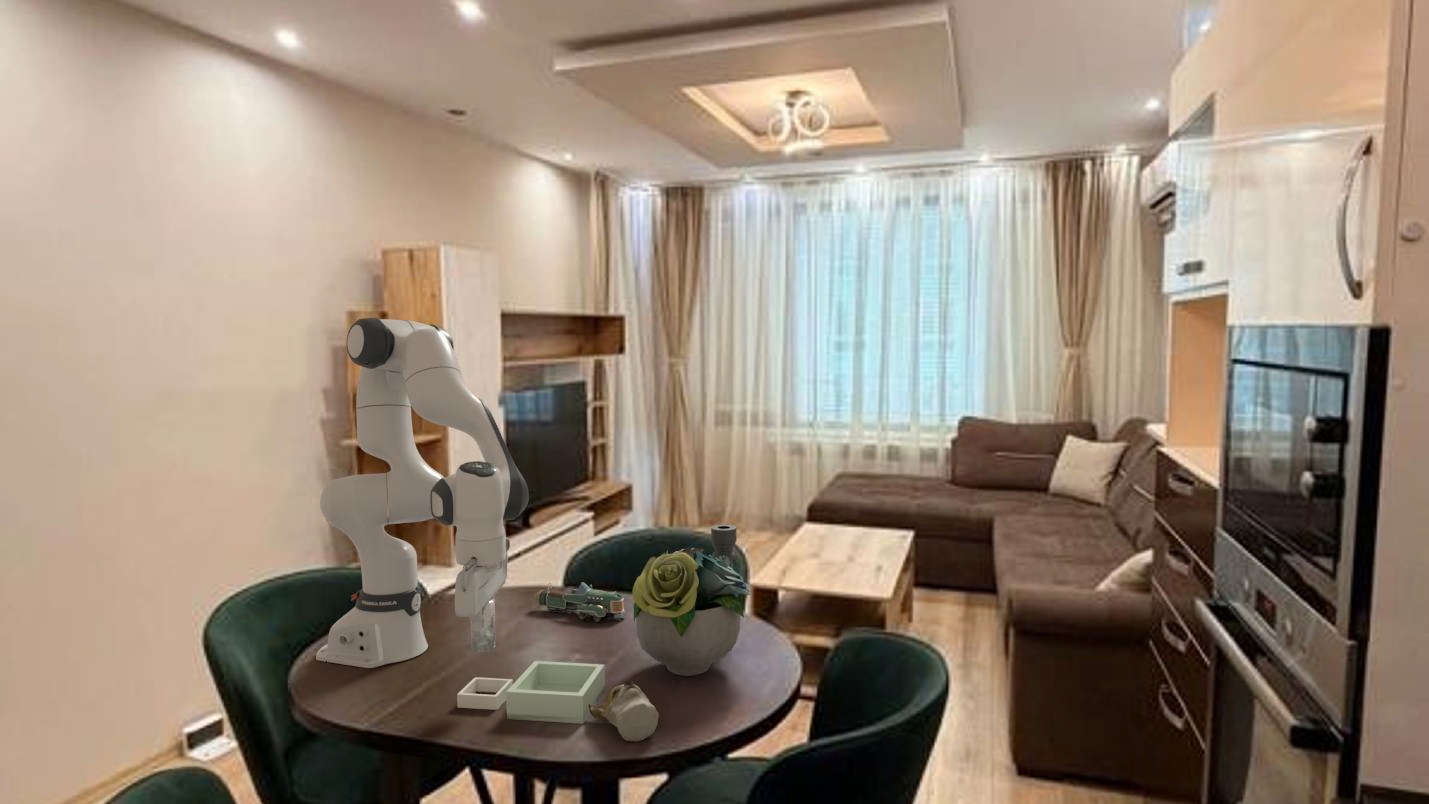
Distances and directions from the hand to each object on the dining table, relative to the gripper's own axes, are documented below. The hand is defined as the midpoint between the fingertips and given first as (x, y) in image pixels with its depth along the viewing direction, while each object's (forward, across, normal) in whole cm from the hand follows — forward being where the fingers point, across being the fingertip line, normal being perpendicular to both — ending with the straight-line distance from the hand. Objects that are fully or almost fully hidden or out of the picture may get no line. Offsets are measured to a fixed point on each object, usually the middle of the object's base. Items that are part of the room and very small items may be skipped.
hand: (482, 623), depth 152 cm
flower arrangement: (+15, +14, -37) cm, 43 cm away
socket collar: (+14, 0, 0) cm, 15 cm away
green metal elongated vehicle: (+16, +48, -9) cm, 51 cm away
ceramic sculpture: (+14, -11, -28) cm, 34 cm away
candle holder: (+15, +33, -45) cm, 57 cm away
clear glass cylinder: (+5, 0, 0) cm, 5 cm away
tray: (+14, -2, -14) cm, 20 cm away
